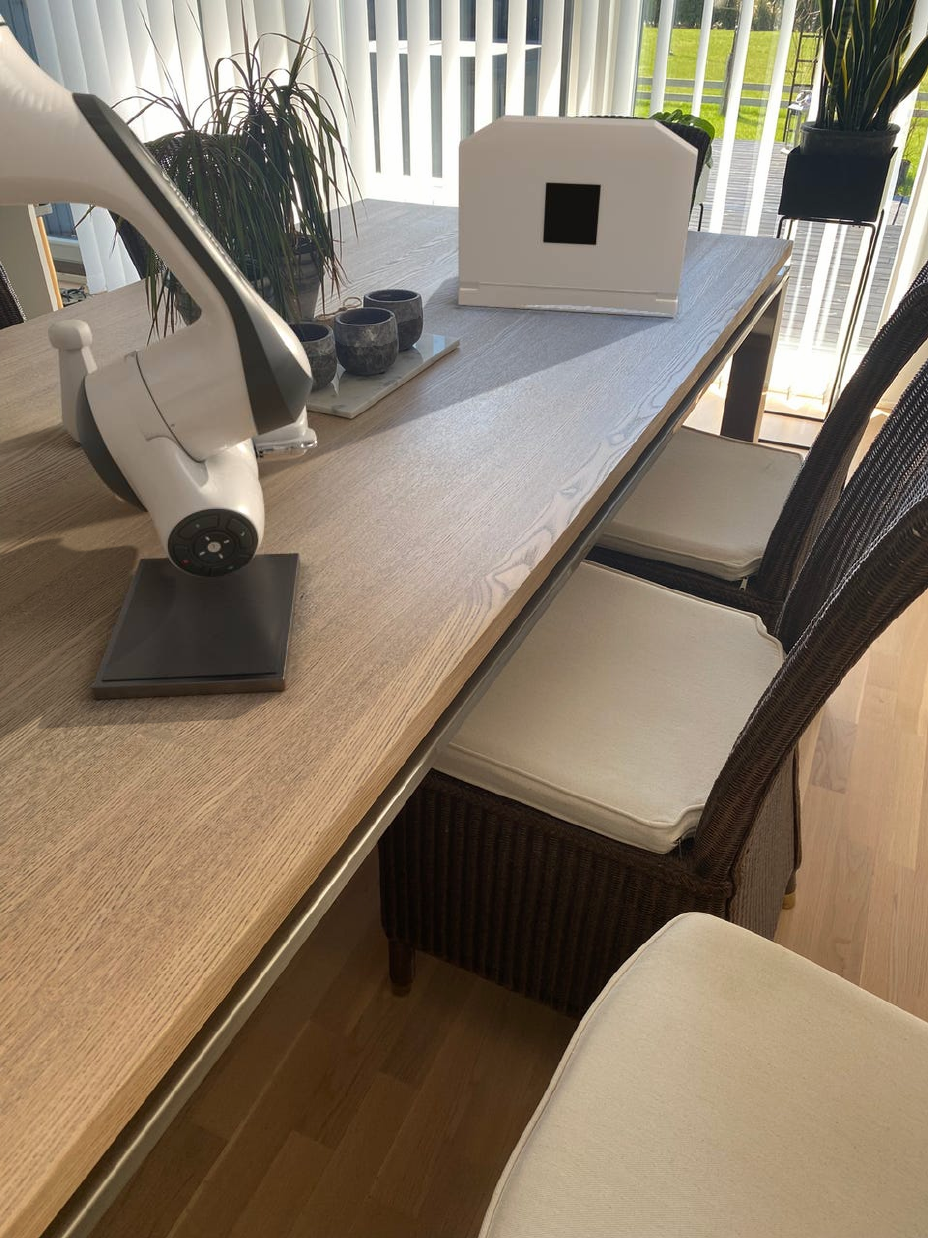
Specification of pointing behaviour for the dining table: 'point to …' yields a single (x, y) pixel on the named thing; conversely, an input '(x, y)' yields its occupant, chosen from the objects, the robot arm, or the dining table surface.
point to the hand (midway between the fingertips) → (202, 402)
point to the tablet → (202, 631)
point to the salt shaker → (72, 365)
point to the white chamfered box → (574, 214)
